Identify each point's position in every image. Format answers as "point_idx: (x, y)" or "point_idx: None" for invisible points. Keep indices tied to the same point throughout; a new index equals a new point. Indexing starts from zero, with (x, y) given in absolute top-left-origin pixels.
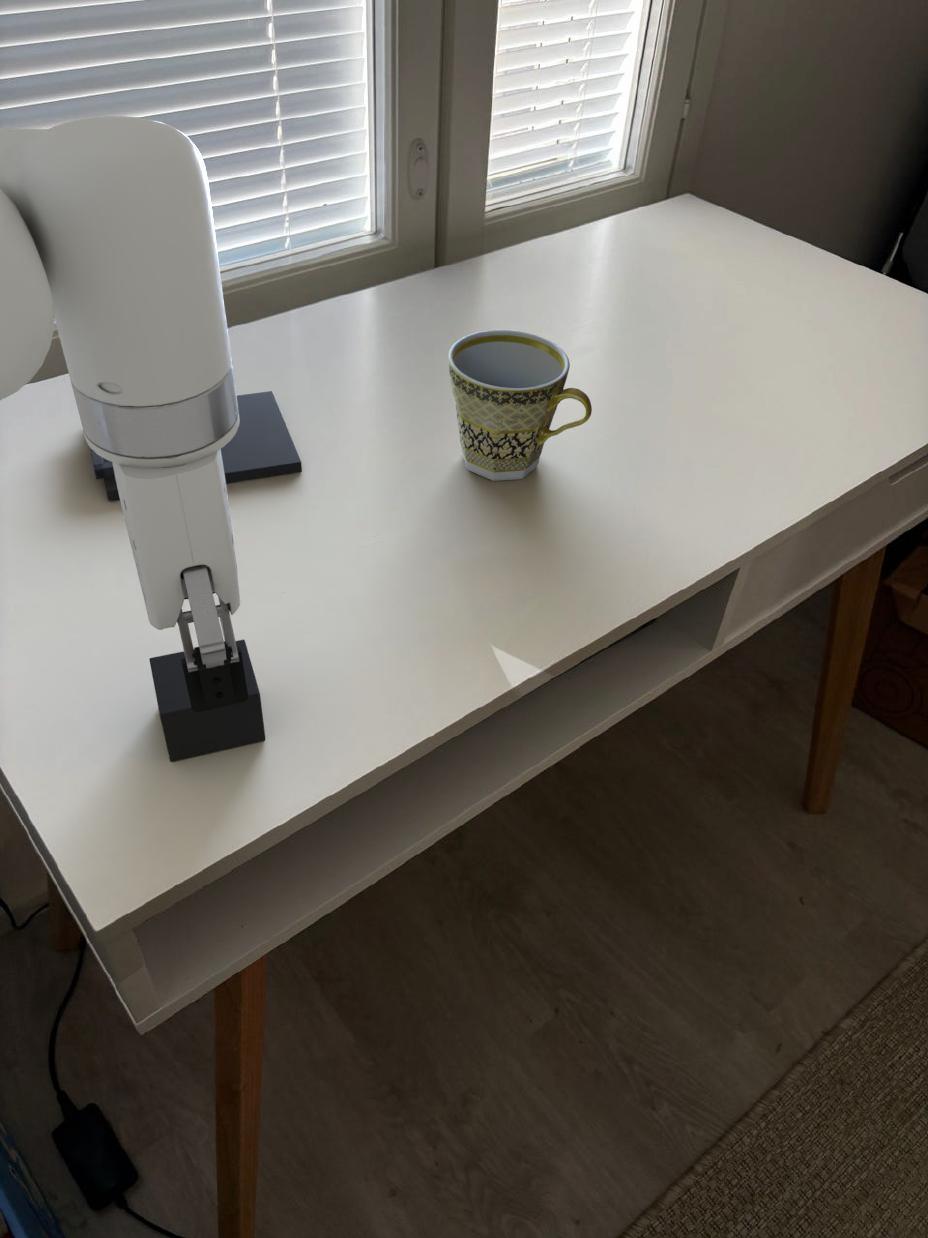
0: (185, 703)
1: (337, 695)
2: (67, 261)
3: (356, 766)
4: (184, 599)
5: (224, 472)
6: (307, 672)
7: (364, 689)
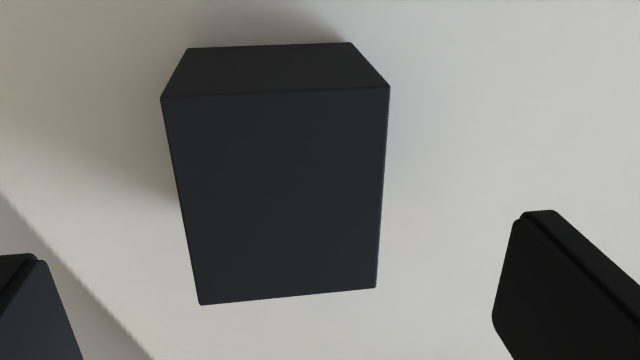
0: (195, 161)
1: (288, 315)
2: None
3: (135, 324)
4: (507, 247)
5: None
6: None
7: (289, 345)
